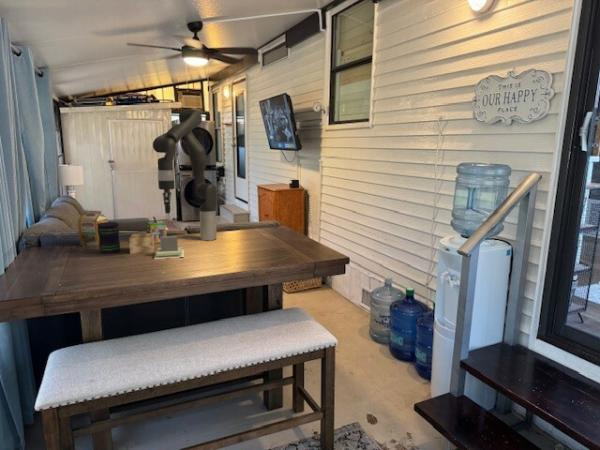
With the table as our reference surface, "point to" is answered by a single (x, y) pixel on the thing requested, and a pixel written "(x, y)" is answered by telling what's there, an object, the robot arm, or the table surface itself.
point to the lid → (169, 247)
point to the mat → (169, 256)
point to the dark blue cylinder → (108, 238)
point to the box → (141, 243)
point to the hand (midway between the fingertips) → (168, 211)
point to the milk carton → (90, 227)
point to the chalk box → (157, 229)
